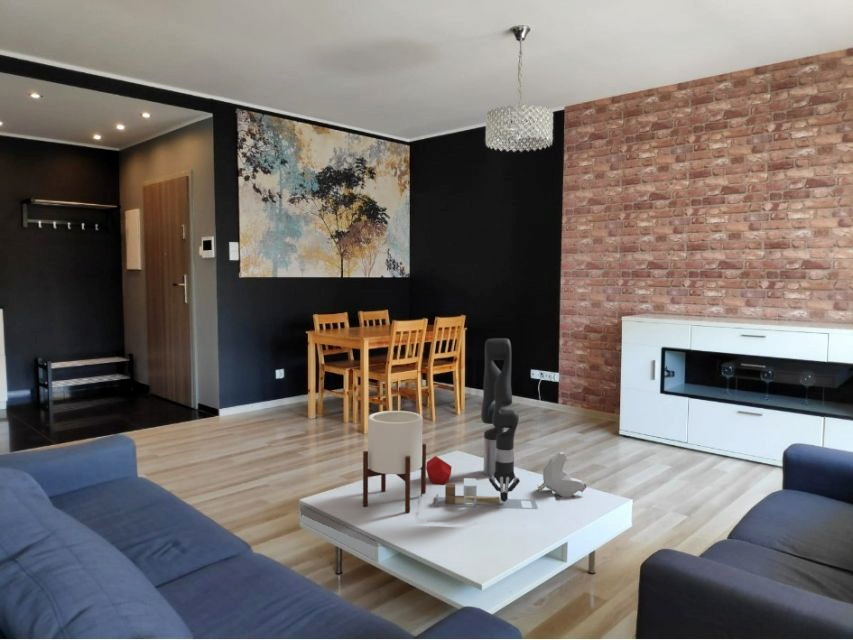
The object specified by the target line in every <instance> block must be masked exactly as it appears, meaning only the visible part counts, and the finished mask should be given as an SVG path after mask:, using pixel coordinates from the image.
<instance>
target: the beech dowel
mask: <svg viewBox="0 0 853 640" xmlns="http://www.w3.org/2000/svg"><path fill="white" fill-rule="evenodd" d="M500 499H501V498H500V496H492V495H490V496H489V495H488V496H485V495H484V496H483V495H476V504H497V505H500ZM455 503H458V504H464V495H455ZM466 503H474V496H466Z"/></svg>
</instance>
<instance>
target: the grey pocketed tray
mask: <svg viewBox="0 0 853 640" xmlns="http://www.w3.org/2000/svg"><path fill="white" fill-rule="evenodd" d="M477 486H478V485H477V478H475V477H474V478H471V477H470V478H468V477H467V478H465V477H464V478H463V496H464V504H458V503H455V504H445V496H442V497H441V496H439V494H437V493H436V496H435V502H434V503H435V505H434V507H453V508H479V509H480V508H484V509H485V508H486V509H487V508H488V509H517V510H518V509H520V510H521V509H522V510H538V509H539V508H538V505H537V502H536V500H535V499H522V498H521V499H516V498H515V499H514V498H508V499H507V500H506V502H502V500H501V498H500V505H497V504H476V496H477V491H478V490H477V489H478V488H477ZM466 496H474V503H466ZM522 501H525V502H526V501H530V503H531V506H532V507H523V504H522Z"/></svg>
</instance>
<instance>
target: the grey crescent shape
mask: <svg viewBox="0 0 853 640" xmlns="http://www.w3.org/2000/svg"><path fill="white" fill-rule="evenodd" d="M566 461H567V457H566V454H565V453H564V452H561V451H560V452H558V453H556V454H555V455H554V456H552V457H551V458H550V459H549V460H548V462H547V464H546V465H545V467H544V468H543V471H542V479H543V483H542V484H541V485H537V490H538V492H539V493H541V491H543V490H544V489H545V488H547V489H548V490H550V491H552V492H554V493H556V494H557V496H560V497H572V496H573V495H575V494H576V493H577V492H581V493H583V492H584V491H585V490H586V488H587V485H586V483H584V482H582V480H580V479H577V478H574V477H571V476H569V474H568V473H567V472H566V470H564V466H565V464H566Z"/></svg>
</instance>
